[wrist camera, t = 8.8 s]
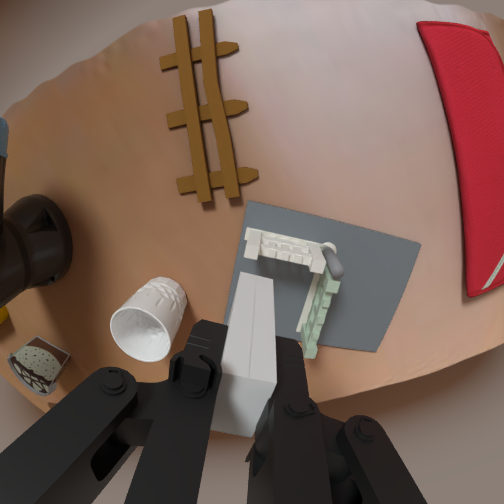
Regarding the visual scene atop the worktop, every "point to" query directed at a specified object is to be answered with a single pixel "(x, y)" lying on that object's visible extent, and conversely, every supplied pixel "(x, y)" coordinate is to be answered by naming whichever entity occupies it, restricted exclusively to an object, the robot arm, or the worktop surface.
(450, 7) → the worktop surface
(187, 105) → the decorative fence
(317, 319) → the hinged fence panel
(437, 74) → the dish drying mat
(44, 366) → the food container
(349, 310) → the card
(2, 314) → the yellow packet
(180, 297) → the white cup
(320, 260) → the fixed fence panel
